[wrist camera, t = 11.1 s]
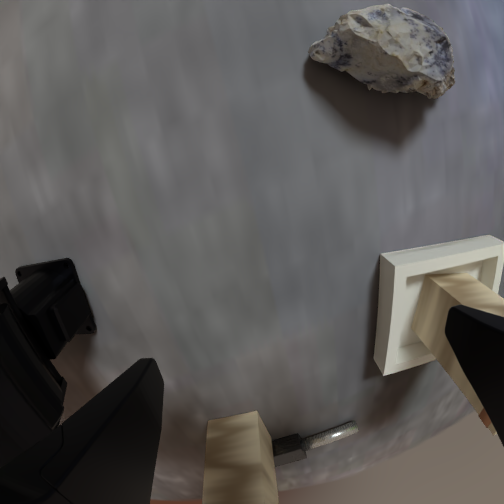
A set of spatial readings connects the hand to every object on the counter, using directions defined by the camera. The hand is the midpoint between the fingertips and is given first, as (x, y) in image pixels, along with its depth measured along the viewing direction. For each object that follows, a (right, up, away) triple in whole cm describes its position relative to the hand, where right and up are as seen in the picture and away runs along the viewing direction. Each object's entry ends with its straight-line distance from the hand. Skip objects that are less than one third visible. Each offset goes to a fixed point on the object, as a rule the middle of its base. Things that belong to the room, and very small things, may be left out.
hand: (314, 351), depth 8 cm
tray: (+14, -1, +15) cm, 21 cm away
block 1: (-3, -15, +19) cm, 24 cm away
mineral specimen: (+7, +17, +9) cm, 20 cm away
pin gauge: (+3, -17, +20) cm, 26 cm away
